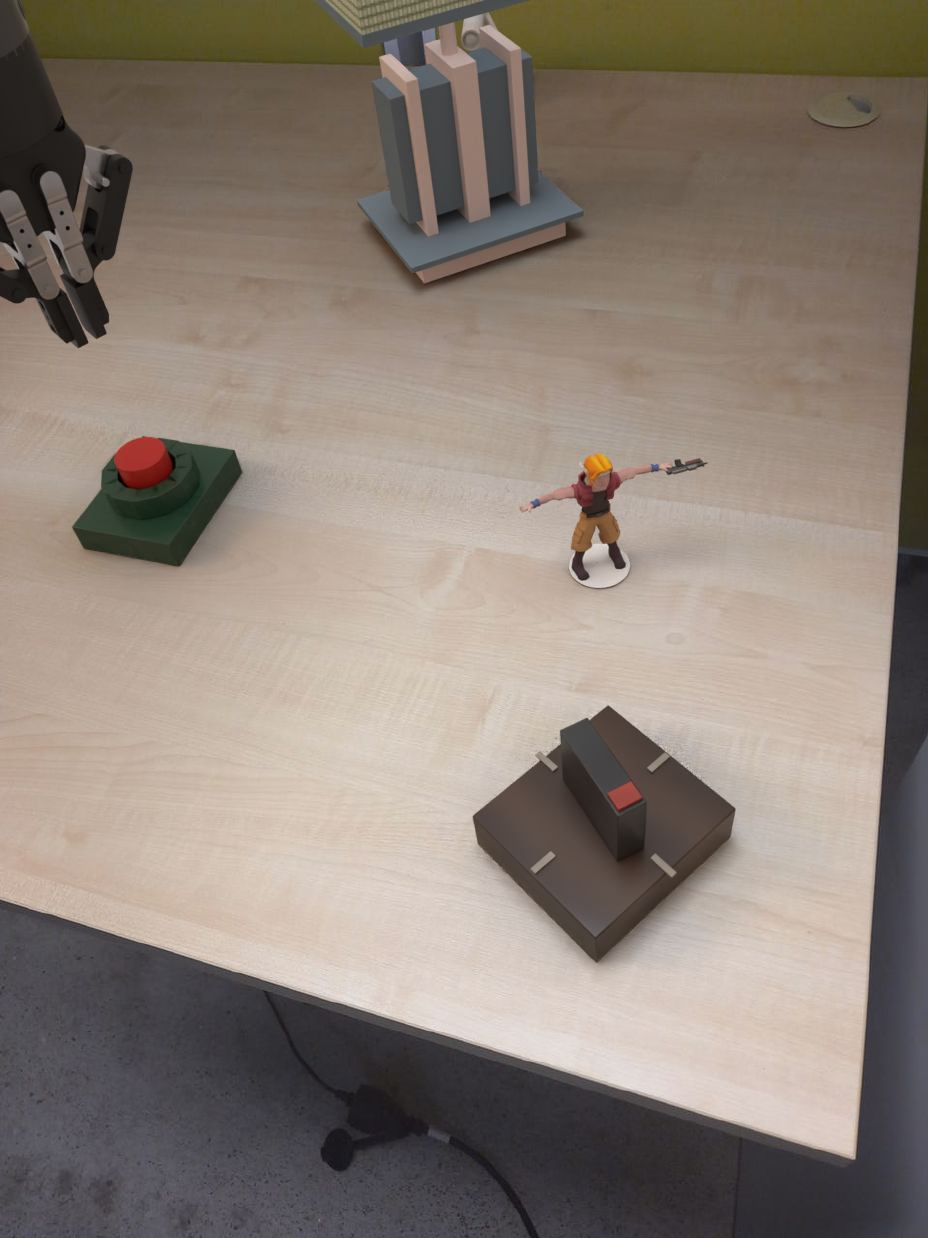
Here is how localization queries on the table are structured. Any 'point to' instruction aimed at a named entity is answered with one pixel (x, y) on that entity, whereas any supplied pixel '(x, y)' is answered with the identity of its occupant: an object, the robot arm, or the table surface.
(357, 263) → the table surface
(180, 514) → the button box
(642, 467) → the action figure
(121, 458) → the button
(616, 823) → the knob
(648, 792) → the panel
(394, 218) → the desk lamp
